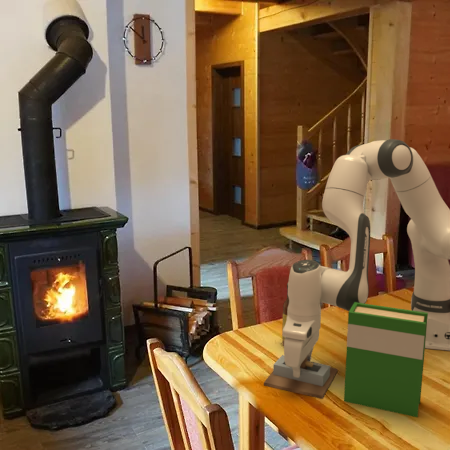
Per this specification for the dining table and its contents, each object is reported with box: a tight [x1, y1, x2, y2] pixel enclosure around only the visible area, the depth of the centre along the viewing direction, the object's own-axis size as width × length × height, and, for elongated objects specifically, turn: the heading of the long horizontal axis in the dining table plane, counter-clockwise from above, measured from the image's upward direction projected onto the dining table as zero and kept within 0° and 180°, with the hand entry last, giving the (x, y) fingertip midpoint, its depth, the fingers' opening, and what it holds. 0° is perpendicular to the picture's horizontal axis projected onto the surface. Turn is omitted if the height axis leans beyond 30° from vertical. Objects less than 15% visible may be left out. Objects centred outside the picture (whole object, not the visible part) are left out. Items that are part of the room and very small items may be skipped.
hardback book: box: [343, 302, 428, 418], centre depth 135 cm, size 18×7×24 cm, turn 66°
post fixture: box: [263, 357, 338, 400], centre depth 148 cm, size 16×16×7 cm
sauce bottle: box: [281, 282, 289, 346], centre depth 167 cm, size 7×6×20 cm
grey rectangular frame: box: [272, 354, 331, 387], centre depth 149 cm, size 14×6×3 cm, turn 62°
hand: (302, 368), depth 148 cm, fingers open, 8 cm apart
